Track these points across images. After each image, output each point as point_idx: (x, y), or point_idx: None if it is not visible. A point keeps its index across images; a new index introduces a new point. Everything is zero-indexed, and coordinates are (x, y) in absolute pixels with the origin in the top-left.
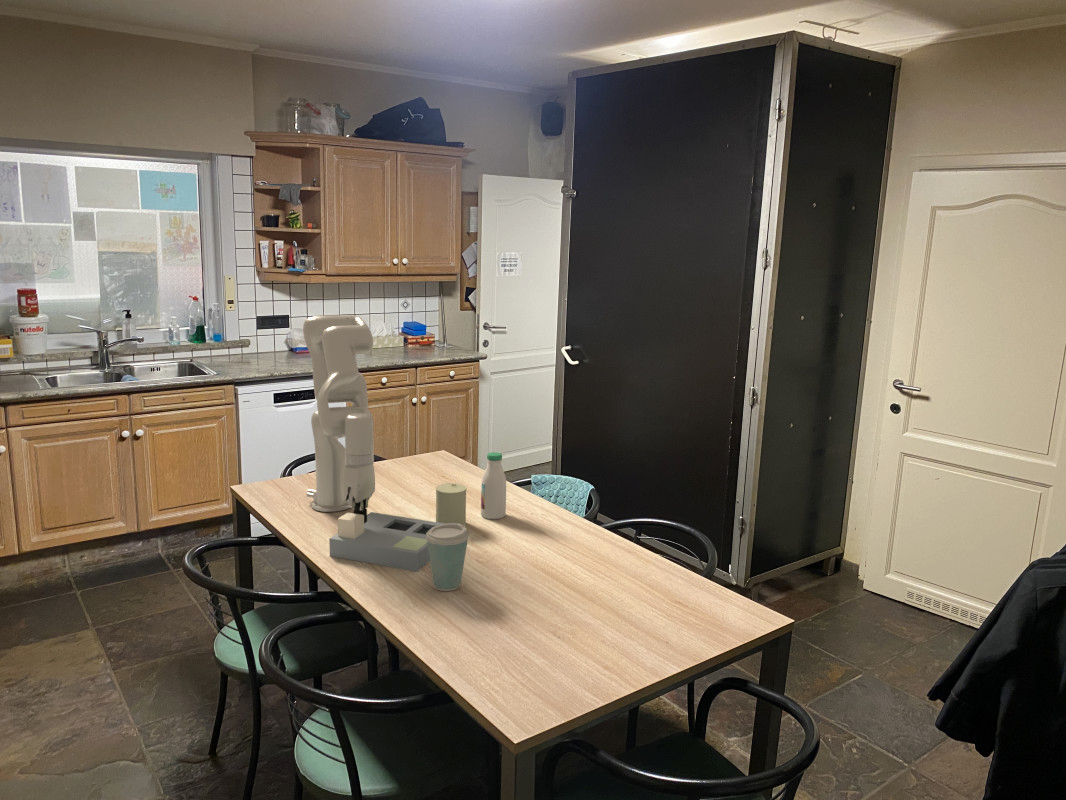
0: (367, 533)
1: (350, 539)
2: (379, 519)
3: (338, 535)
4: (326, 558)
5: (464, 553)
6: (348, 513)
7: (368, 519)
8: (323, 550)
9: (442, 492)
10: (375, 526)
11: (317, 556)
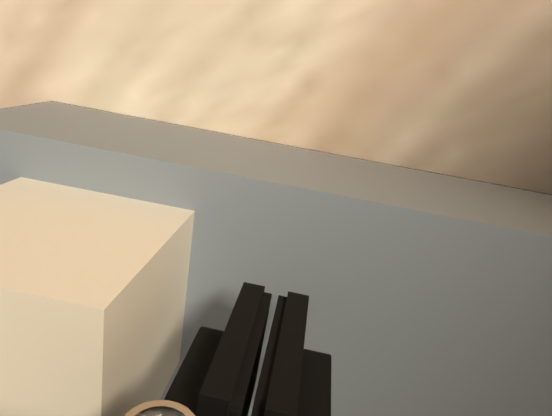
0: (167, 389)
1: None
2: (529, 408)
3: (16, 182)
4: (12, 94)
5: None
6: (72, 331)
7: (519, 315)
8: (122, 8)
9: None
10: (338, 412)
11: (14, 13)
